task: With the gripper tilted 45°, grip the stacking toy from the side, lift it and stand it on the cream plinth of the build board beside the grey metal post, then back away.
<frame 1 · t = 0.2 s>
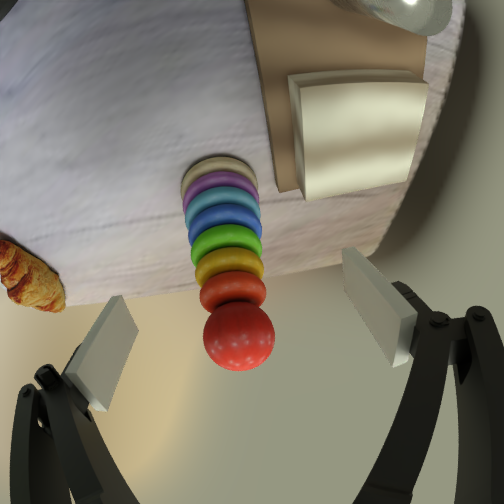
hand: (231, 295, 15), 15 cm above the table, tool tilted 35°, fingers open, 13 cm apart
croissant: (32, 269, 33), on the table
stacking toy: (218, 182, 28), on the table
build board: (346, 74, 19), on the table
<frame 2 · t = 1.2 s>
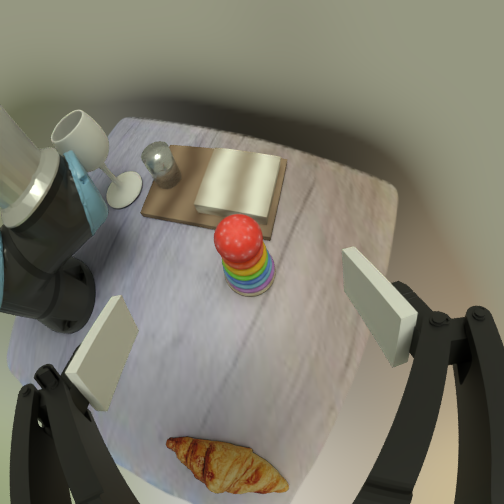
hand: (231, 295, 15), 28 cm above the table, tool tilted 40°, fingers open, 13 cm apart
croissant: (229, 464, 34), on the table
wineglass: (124, 190, 50), on the table
stacking toy: (250, 272, 44), on the table
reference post: (171, 182, 50), resting on build board
build board: (214, 188, 49), on the table
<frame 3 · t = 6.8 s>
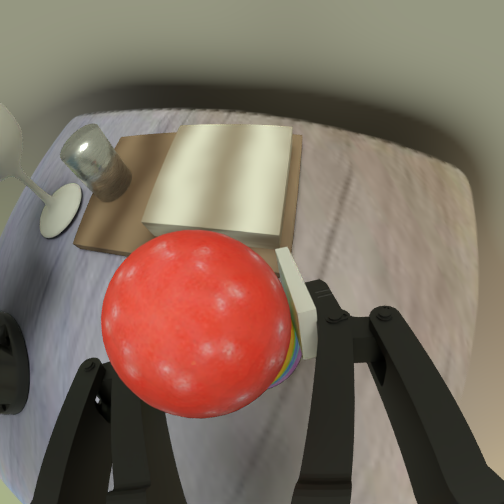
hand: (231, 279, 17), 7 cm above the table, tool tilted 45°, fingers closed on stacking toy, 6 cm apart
wineglass: (60, 210, 30), on the table, touching arm
stacking toy: (255, 343, 22), on the table, touching gripper
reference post: (119, 191, 30), resting on build board
build board: (184, 192, 29), on the table
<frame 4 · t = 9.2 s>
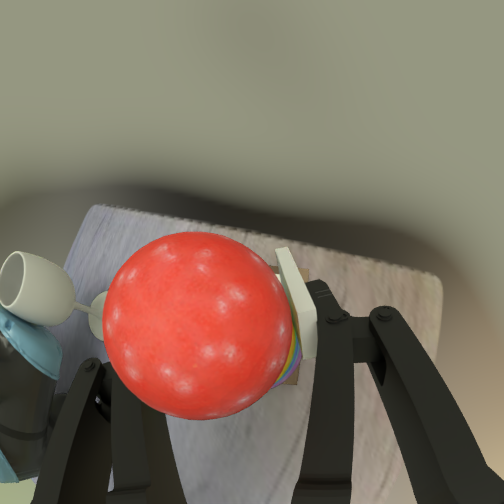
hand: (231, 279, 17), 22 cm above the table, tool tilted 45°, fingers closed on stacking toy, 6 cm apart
wineglass: (108, 316, 40), on the table
stacking toy: (255, 343, 22), point 15 cm above the table, touching gripper
build board: (218, 317, 38), on the table
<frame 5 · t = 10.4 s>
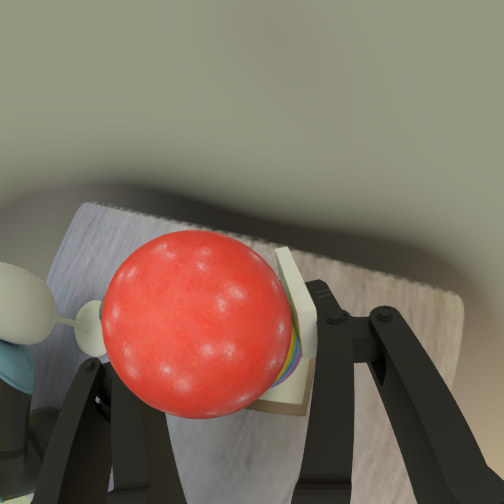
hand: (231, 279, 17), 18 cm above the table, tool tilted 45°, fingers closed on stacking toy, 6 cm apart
wineglass: (95, 328, 35), on the table, touching arm
stacking toy: (255, 343, 22), point 10 cm above the table, touching gripper
build board: (218, 338, 33), on the table
when the fingers open (13 cm above the table, at t = 11.5 s): stacking toy drops 1 cm, resting on build board.
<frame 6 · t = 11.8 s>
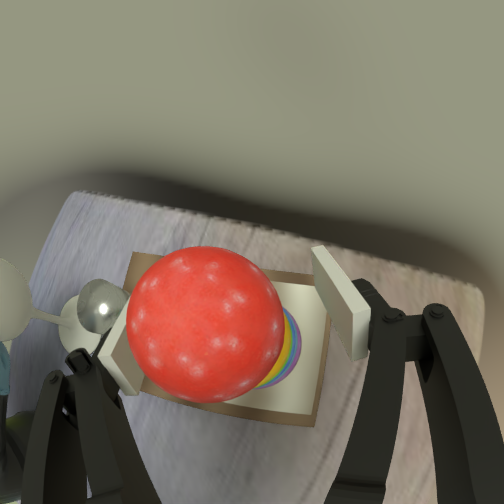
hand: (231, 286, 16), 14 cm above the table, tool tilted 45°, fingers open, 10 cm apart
wineglass: (80, 326, 31), on the table, touching arm
stacking toy: (256, 344, 24), point 4 cm above the table, touching build board
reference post: (142, 321, 30), resting on build board
build board: (213, 337, 29), on the table
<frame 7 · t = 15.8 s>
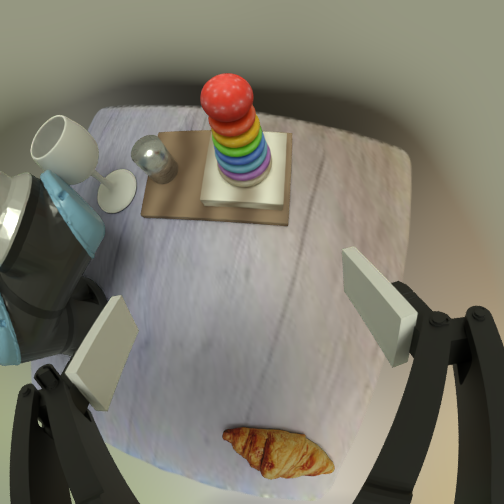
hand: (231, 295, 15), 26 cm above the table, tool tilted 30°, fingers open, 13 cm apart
croissant: (280, 449, 37), on the table
wineglass: (117, 191, 45), on the table
stacking toy: (245, 165, 39), point 4 cm above the table, touching build board
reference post: (167, 174, 45), resting on build board
build board: (217, 174, 44), on the table
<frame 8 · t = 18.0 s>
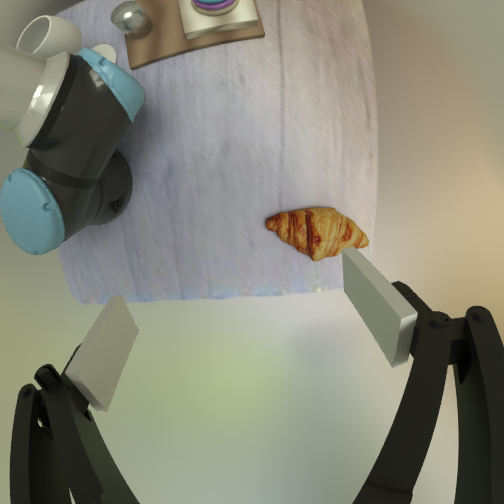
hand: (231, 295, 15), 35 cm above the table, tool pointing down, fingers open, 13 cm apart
croissant: (317, 230, 51), on the table
wineglass: (97, 63, 35), on the table
stacking toy: (215, 0, 29), point 4 cm above the table, touching build board
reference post: (142, 31, 34), resting on build board
build board: (189, 16, 33), on the table
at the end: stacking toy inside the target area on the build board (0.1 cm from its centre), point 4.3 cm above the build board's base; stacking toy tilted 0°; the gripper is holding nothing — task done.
